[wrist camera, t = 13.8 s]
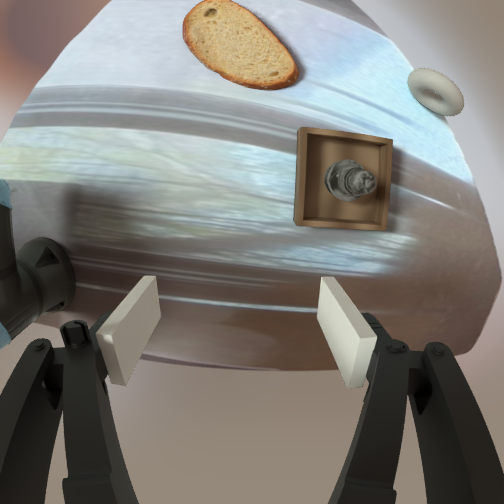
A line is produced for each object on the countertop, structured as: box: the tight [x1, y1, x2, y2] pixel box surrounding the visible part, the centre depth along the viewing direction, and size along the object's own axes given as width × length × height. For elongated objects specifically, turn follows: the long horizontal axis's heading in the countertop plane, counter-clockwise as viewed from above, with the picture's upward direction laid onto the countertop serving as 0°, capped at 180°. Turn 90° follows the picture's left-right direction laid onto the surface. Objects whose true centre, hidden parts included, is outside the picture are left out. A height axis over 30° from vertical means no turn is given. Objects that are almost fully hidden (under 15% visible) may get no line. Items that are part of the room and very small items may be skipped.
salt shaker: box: [324, 159, 377, 201], centre depth 35 cm, size 6×6×12 cm
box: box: [293, 127, 393, 231], centre depth 39 cm, size 14×14×4 cm
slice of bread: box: [183, 0, 299, 90], centre depth 34 cm, size 18×18×4 cm
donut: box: [407, 68, 464, 116], centre depth 32 cm, size 10×4×10 cm, turn 61°
